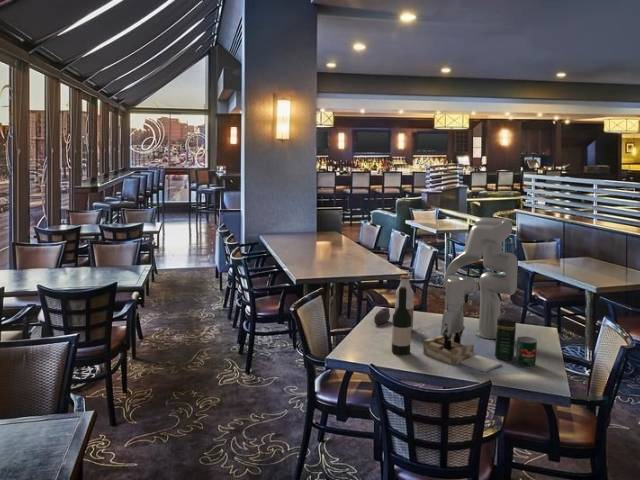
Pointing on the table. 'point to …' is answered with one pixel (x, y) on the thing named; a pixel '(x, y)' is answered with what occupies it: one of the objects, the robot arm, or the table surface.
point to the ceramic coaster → (481, 363)
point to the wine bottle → (401, 326)
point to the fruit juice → (409, 296)
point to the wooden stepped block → (447, 351)
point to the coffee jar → (505, 337)
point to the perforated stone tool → (382, 316)
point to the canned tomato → (526, 352)
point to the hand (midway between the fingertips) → (452, 346)
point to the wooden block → (453, 344)
